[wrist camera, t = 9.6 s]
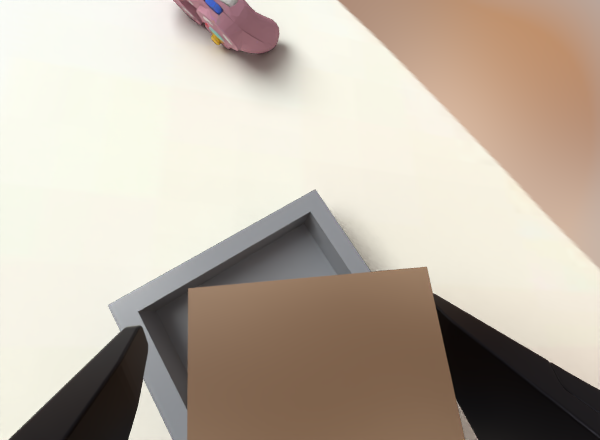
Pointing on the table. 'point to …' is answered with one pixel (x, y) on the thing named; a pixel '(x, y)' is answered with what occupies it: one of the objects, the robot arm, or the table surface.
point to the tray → (225, 271)
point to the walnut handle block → (320, 360)
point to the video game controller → (233, 24)
